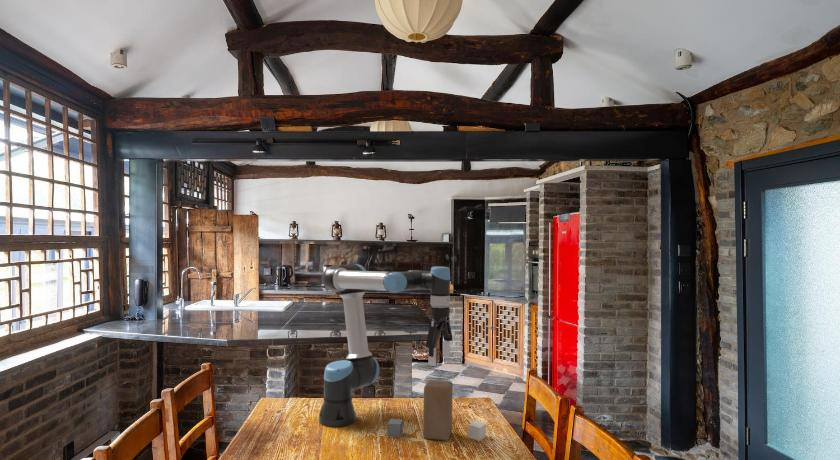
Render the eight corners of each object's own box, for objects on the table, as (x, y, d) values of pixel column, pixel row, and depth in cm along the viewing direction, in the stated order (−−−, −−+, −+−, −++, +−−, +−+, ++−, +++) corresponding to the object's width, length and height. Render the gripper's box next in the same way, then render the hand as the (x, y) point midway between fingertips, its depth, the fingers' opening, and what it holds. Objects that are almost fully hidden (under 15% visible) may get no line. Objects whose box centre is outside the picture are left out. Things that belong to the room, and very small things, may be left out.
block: (448, 441, 182) (449, 388, 182) (422, 439, 184) (423, 386, 184) (452, 431, 192) (453, 380, 192) (427, 429, 194) (428, 379, 194)
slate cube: (387, 436, 186) (387, 423, 186) (390, 431, 191) (390, 418, 191) (399, 437, 185) (400, 424, 185) (402, 432, 190) (403, 419, 190)
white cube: (468, 437, 186) (468, 424, 186) (474, 433, 190) (474, 420, 190) (479, 441, 183) (479, 427, 183) (485, 436, 187) (485, 423, 187)
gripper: (435, 311, 176) (434, 369, 175) (460, 303, 198) (460, 355, 198) (417, 309, 179) (416, 367, 179) (443, 302, 201) (443, 353, 201)
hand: (439, 361), depth 188 cm, fingers open, 13 cm apart
